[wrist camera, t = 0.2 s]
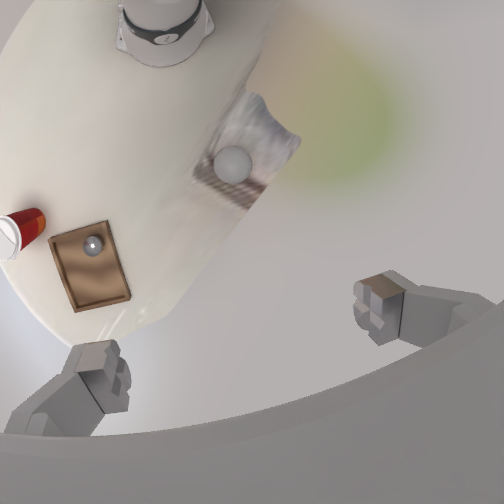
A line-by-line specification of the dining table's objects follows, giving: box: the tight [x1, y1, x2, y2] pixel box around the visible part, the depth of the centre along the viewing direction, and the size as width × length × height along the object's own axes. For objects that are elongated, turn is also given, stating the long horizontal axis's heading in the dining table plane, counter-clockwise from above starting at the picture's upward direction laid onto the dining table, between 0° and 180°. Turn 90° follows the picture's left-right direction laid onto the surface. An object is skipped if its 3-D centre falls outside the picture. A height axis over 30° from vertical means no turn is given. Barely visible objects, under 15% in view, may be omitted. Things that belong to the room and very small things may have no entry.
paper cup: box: [0, 208, 46, 261], centre depth 41 cm, size 8×8×14 cm
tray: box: [48, 220, 131, 313], centre depth 53 cm, size 16×13×2 cm
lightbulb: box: [214, 146, 252, 184], centre depth 49 cm, size 6×6×11 cm
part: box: [83, 234, 104, 257], centre depth 50 cm, size 4×4×3 cm
